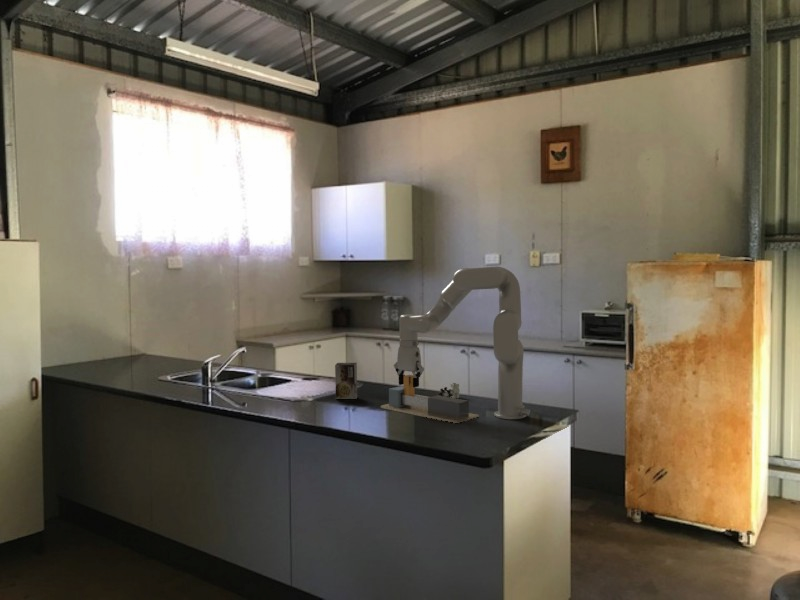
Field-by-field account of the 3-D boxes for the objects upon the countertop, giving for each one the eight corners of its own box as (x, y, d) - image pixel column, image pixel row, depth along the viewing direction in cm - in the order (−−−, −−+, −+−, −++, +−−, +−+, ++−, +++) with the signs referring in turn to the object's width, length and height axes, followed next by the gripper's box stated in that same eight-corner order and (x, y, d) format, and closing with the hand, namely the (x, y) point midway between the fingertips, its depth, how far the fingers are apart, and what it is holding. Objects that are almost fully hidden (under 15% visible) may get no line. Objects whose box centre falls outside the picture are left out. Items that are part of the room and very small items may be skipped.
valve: (450, 396, 295) (438, 401, 284) (450, 382, 294) (438, 386, 284) (463, 397, 291) (452, 402, 281) (463, 383, 291) (452, 388, 281)
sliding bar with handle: (443, 409, 259) (443, 379, 259) (437, 410, 257) (436, 381, 256) (402, 401, 275) (401, 373, 275) (395, 402, 272) (395, 374, 272)
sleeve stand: (478, 417, 254) (478, 399, 253) (456, 423, 243) (456, 405, 243) (403, 402, 282) (403, 386, 281) (380, 407, 272) (380, 391, 271)
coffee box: (357, 397, 294) (357, 362, 293) (355, 400, 287) (354, 364, 286) (338, 397, 294) (337, 362, 294) (335, 400, 288) (334, 364, 287)
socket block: (411, 403, 274) (411, 387, 274) (398, 407, 269) (398, 390, 268) (401, 402, 278) (401, 386, 278) (389, 405, 272) (388, 388, 272)
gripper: (430, 344, 265) (430, 387, 266) (399, 341, 277) (399, 381, 278) (418, 346, 260) (418, 389, 261) (387, 343, 272) (387, 384, 273)
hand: (408, 385), depth 269 cm, fingers open, 7 cm apart
